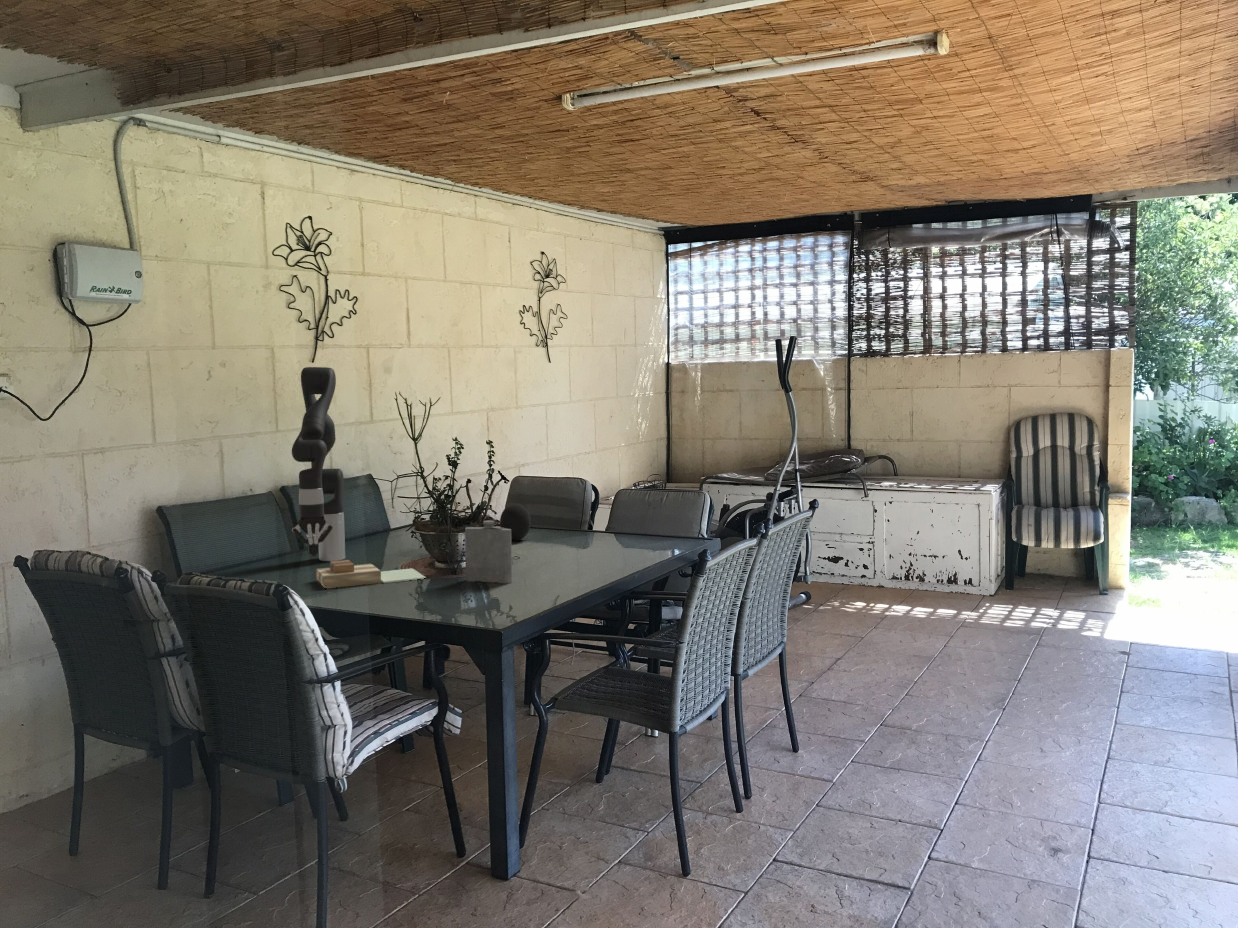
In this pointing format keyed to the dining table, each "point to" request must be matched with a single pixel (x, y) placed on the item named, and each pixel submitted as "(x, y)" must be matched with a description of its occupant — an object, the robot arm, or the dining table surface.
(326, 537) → the robot arm
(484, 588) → the dining table surface
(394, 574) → the sage mat
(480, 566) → the hip flask
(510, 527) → the decorative egg
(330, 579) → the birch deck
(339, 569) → the walnut tile
